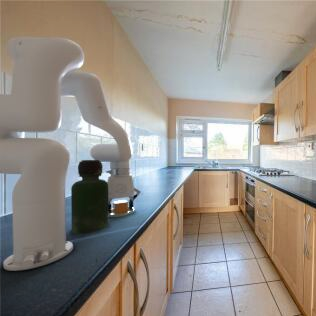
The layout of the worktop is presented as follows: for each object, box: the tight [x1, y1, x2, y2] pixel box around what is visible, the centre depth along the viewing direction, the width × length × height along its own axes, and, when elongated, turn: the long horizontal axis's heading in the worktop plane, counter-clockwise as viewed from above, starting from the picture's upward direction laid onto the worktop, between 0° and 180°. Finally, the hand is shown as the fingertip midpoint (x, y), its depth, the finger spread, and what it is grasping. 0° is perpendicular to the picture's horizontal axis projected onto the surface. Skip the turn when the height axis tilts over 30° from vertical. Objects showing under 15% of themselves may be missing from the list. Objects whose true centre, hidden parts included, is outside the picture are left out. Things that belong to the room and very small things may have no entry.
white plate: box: [108, 206, 135, 218], centre depth 83 cm, size 11×11×2 cm
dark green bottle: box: [70, 159, 109, 235], centre depth 66 cm, size 10×10×25 cm
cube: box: [112, 199, 129, 214], centre depth 83 cm, size 5×5×5 cm
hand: (120, 210), depth 83 cm, fingers open, 7 cm apart
